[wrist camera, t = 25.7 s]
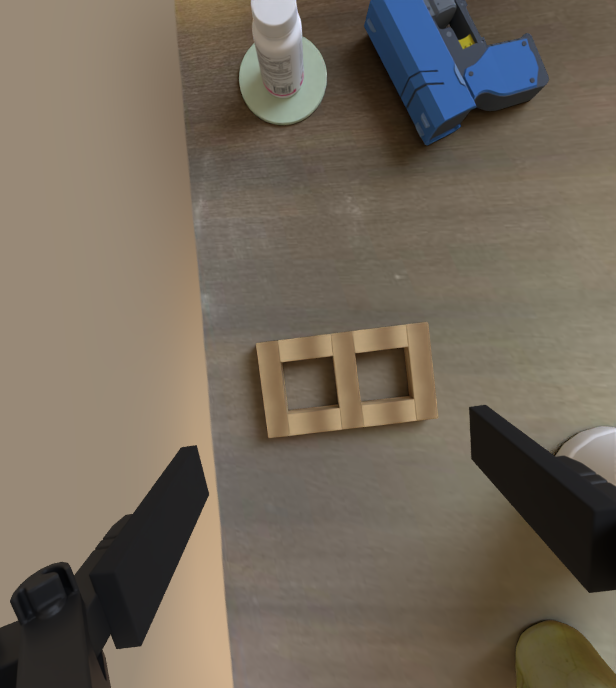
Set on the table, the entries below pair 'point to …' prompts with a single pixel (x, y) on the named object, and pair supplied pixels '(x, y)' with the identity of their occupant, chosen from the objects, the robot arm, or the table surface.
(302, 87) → the coaster
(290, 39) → the pill bottle
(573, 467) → the robot arm
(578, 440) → the bottle
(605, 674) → the mug
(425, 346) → the frame
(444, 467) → the table surface
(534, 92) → the stun gun
